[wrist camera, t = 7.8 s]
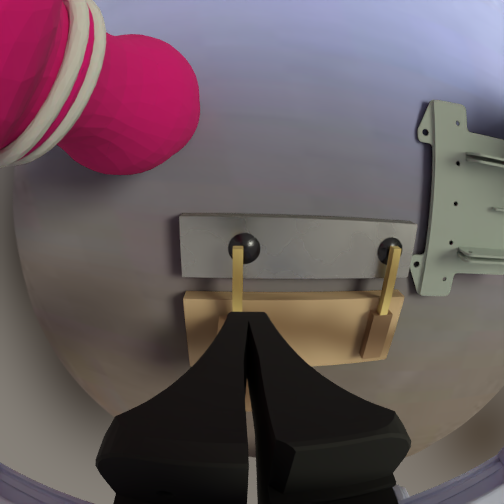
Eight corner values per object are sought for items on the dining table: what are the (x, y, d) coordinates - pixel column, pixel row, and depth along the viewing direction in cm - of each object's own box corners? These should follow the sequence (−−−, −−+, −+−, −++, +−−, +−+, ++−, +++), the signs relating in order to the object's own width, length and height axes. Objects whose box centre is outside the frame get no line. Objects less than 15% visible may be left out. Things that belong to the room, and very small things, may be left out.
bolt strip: (401, 272, 21) (408, 277, 20) (184, 270, 20) (181, 277, 19) (410, 221, 19) (418, 224, 18) (182, 213, 19) (178, 216, 18)
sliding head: (253, 361, 21) (257, 411, 16) (220, 360, 21) (217, 411, 16) (258, 243, 18) (264, 277, 13) (218, 242, 18) (210, 277, 13)
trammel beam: (380, 350, 23) (389, 364, 21) (192, 357, 22) (188, 373, 20) (407, 240, 20) (421, 249, 18) (182, 235, 19) (176, 245, 17)
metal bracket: (562, 133, 11) (539, 303, 16) (528, 132, 16) (512, 278, 21) (423, 92, 14) (409, 305, 19) (403, 104, 20) (395, 274, 25)
